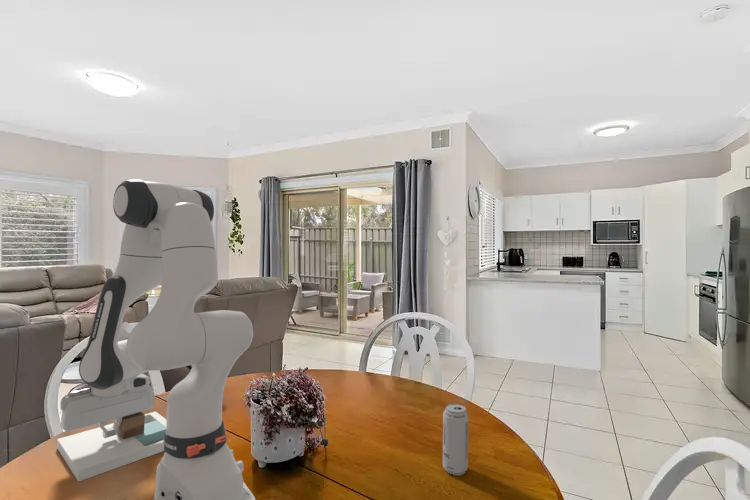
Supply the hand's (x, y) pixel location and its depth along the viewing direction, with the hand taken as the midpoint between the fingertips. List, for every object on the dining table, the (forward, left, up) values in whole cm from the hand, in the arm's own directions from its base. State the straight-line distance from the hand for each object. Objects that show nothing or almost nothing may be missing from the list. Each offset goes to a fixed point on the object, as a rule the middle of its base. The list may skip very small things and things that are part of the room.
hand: (109, 436), depth 104 cm
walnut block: (0, -5, -1) cm, 5 cm away
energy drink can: (-72, -53, -4) cm, 90 cm away
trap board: (0, -3, -4) cm, 5 cm away
